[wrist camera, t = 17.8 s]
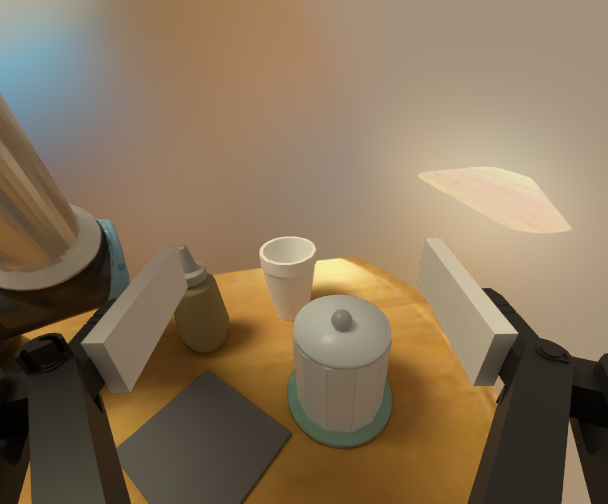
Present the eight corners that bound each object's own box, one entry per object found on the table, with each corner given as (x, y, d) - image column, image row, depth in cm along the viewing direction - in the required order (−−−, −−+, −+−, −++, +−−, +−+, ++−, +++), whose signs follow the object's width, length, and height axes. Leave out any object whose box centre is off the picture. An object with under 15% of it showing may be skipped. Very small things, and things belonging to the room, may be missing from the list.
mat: (112, 454, 35) (111, 452, 35) (208, 370, 45) (207, 369, 44) (195, 566, 27) (194, 565, 26) (291, 434, 36) (291, 432, 36)
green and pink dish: (266, 405, 40) (262, 383, 37) (323, 339, 49) (323, 318, 47) (361, 476, 32) (364, 454, 30) (406, 382, 42) (411, 359, 39)
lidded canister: (281, 399, 39) (272, 321, 32) (326, 345, 47) (326, 272, 40) (356, 451, 33) (365, 370, 26) (393, 380, 41) (408, 302, 34)
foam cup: (325, 302, 57) (325, 243, 50) (300, 334, 50) (296, 271, 44) (285, 288, 61) (280, 232, 55) (257, 315, 55) (247, 255, 48)
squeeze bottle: (236, 349, 48) (215, 255, 39) (184, 366, 46) (148, 269, 36) (228, 317, 54) (209, 230, 45) (182, 330, 52) (152, 241, 43)
